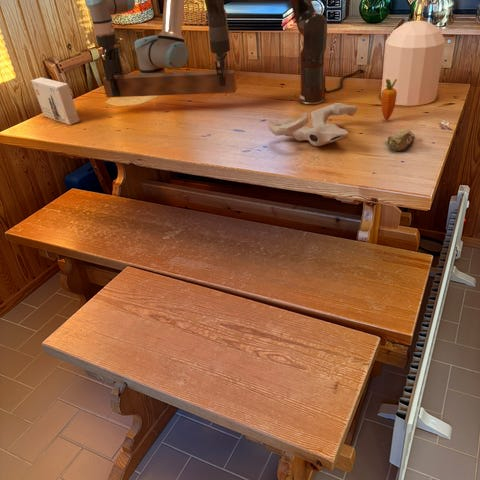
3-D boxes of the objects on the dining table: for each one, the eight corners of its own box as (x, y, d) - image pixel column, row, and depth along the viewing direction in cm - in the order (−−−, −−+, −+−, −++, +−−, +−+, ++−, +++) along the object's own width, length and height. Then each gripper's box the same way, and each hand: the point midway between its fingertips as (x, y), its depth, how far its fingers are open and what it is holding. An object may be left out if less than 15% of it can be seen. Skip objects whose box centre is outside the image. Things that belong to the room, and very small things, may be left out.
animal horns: (266, 154, 150) (264, 118, 144) (276, 126, 172) (275, 94, 165) (355, 154, 144) (357, 117, 138) (355, 125, 166) (356, 92, 159)
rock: (408, 140, 153) (379, 139, 152) (414, 122, 149) (384, 120, 148) (421, 154, 144) (391, 153, 143) (428, 135, 140) (396, 133, 139)
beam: (106, 97, 192) (101, 79, 188) (110, 93, 196) (106, 75, 192) (235, 92, 183) (233, 73, 179) (236, 88, 187) (235, 69, 183)
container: (406, 109, 173) (416, 29, 157) (369, 95, 189) (375, 21, 173) (448, 97, 179) (462, 19, 163) (409, 85, 195) (418, 12, 180)
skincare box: (42, 117, 201) (30, 80, 192) (53, 113, 205) (42, 76, 196) (69, 125, 189) (57, 86, 180) (80, 121, 193) (69, 82, 184)
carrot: (394, 118, 167) (398, 76, 158) (393, 123, 163) (397, 80, 154) (379, 117, 168) (383, 75, 160) (378, 122, 165) (382, 80, 156)
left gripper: (105, 38, 172) (120, 100, 185) (122, 28, 187) (134, 86, 200) (86, 39, 173) (102, 101, 186) (104, 30, 188) (118, 87, 201)
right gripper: (226, 42, 168) (230, 88, 178) (231, 33, 180) (235, 78, 190) (205, 43, 170) (211, 89, 179) (213, 34, 181) (217, 78, 191)
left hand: (118, 93), depth 193 cm, fingers closed on beam, 5 cm apart
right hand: (223, 83), depth 184 cm, fingers closed on beam, 5 cm apart
